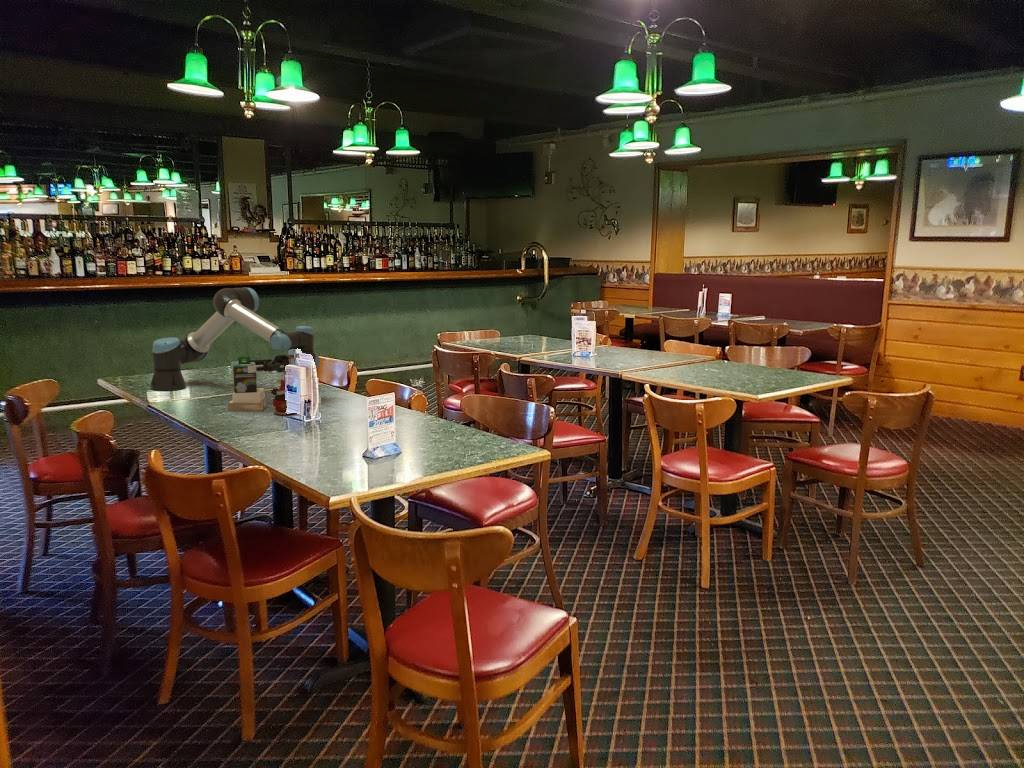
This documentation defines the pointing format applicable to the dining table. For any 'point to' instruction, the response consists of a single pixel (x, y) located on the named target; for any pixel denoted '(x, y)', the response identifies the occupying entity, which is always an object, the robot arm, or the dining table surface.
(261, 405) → the tower base
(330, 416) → the dining table surface
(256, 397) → the tower top
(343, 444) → the dining table surface
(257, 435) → the dining table surface
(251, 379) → the chalk box
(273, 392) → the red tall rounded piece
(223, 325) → the robot arm
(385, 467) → the dining table surface
